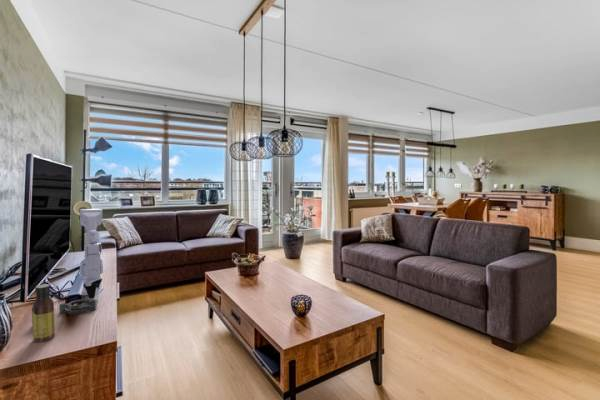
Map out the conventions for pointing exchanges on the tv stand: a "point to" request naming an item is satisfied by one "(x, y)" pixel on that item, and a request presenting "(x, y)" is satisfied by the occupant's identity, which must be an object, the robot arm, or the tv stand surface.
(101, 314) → the tv stand surface
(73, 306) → the collar stand
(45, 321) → the sauce bottle
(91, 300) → the air tube
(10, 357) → the tv stand surface
